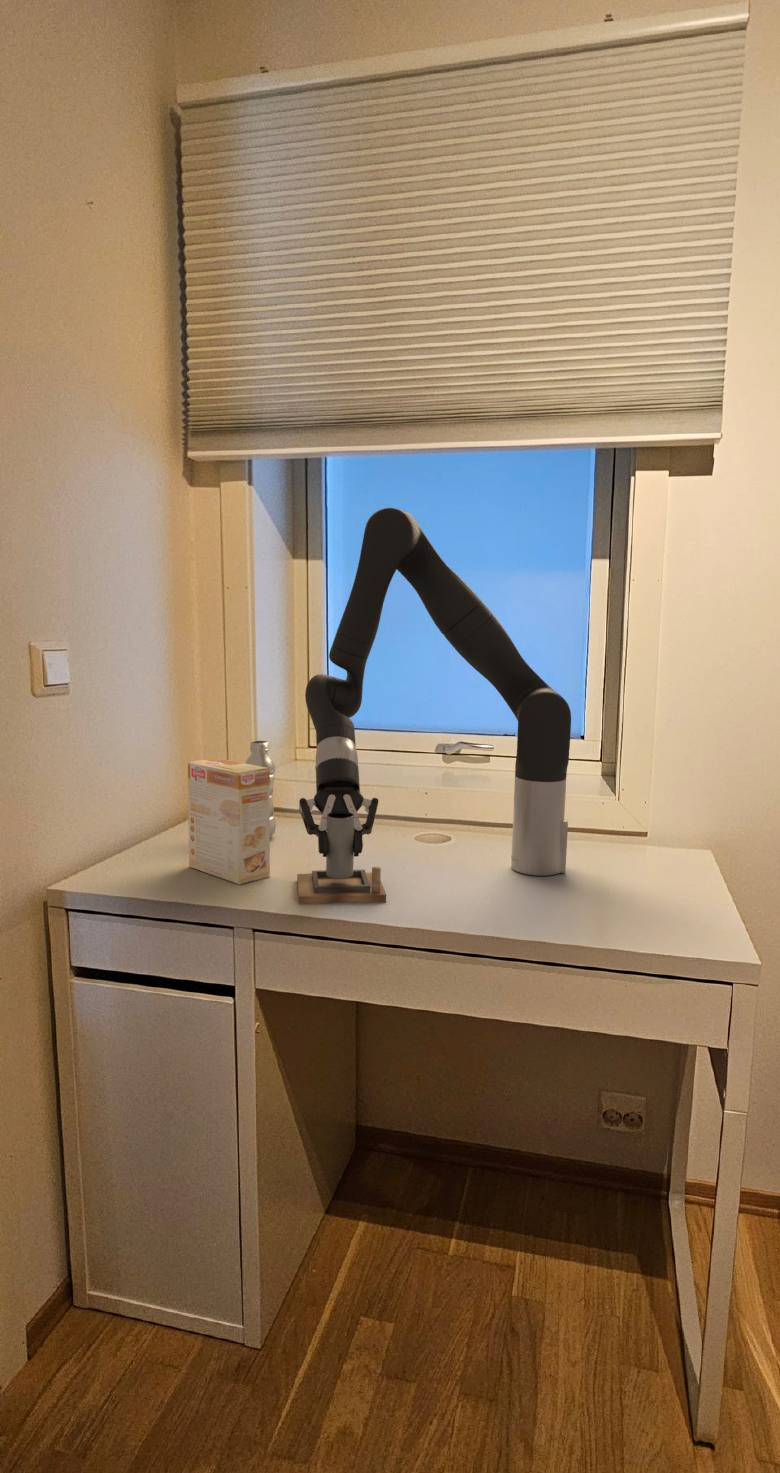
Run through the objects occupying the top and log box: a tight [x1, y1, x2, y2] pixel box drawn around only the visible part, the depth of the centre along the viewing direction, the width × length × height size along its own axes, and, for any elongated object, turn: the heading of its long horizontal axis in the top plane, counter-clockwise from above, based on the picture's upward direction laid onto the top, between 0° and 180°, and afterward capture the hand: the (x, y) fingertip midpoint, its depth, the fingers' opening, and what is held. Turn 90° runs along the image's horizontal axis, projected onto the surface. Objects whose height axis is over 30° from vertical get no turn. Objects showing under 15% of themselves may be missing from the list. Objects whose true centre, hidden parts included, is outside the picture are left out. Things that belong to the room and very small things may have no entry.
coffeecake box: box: [187, 757, 271, 885], centre depth 150 cm, size 15×7×20 cm, turn 48°
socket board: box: [296, 866, 387, 905], centre depth 141 cm, size 14×12×5 cm
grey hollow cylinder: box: [325, 812, 355, 879], centre depth 141 cm, size 4×4×10 cm
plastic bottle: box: [244, 740, 277, 838], centre depth 173 cm, size 6×7×20 cm
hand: (341, 854), depth 139 cm, fingers closed on grey hollow cylinder, 4 cm apart
